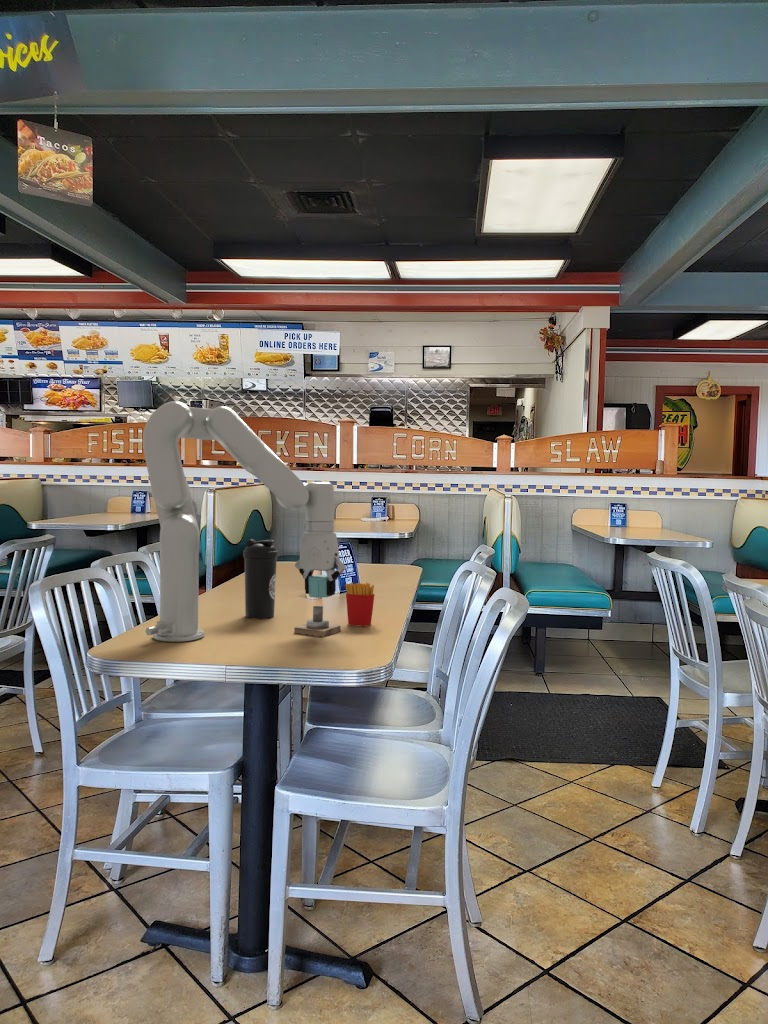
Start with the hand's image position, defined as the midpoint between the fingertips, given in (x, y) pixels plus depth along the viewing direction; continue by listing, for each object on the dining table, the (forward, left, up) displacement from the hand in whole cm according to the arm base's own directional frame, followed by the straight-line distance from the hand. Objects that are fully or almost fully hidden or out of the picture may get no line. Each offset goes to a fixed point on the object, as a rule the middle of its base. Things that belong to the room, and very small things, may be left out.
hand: (320, 593), depth 192 cm
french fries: (+15, -4, -11) cm, 19 cm away
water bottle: (+9, +27, -11) cm, 30 cm away
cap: (0, 0, -1) cm, 1 cm away
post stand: (0, 0, -10) cm, 11 cm away
